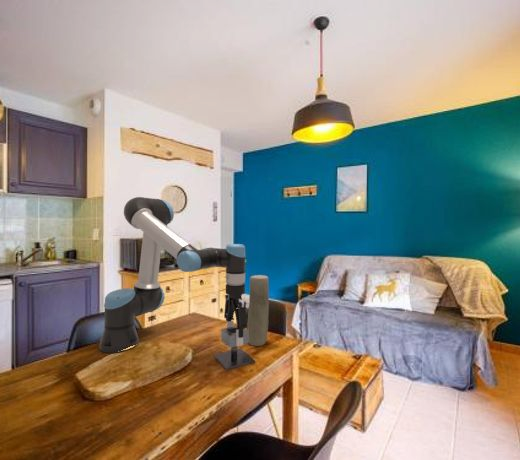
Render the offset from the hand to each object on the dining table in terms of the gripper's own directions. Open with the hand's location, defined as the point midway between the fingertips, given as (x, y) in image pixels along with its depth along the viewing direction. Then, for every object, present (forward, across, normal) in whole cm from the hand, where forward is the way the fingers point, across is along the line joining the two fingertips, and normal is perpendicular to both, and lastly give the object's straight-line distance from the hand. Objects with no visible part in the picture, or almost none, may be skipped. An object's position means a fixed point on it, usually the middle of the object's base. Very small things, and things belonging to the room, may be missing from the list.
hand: (234, 341), depth 111 cm
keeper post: (+7, 0, 0) cm, 7 cm away
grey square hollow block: (0, 0, 0) cm, 0 cm away
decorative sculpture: (+7, -11, +15) cm, 20 cm away
